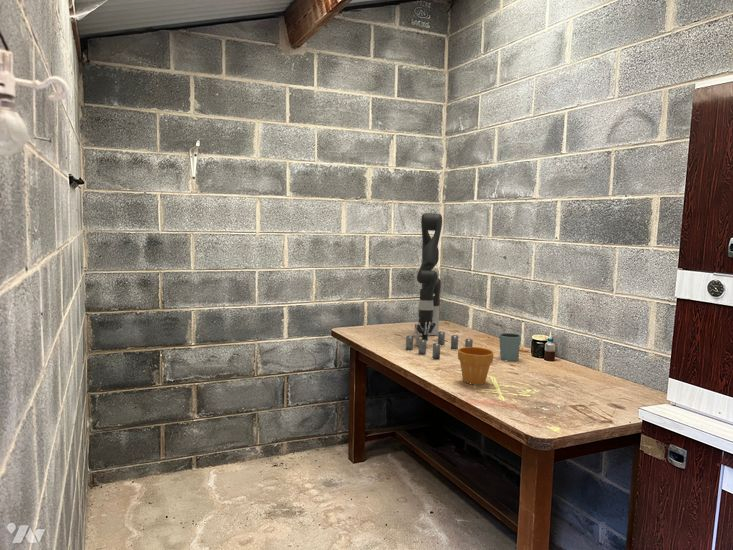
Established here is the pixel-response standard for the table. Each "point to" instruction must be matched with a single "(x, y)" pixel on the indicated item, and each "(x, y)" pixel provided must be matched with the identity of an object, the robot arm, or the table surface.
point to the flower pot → (475, 364)
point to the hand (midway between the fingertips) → (424, 341)
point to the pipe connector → (416, 336)
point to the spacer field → (436, 344)
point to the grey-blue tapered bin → (509, 346)
